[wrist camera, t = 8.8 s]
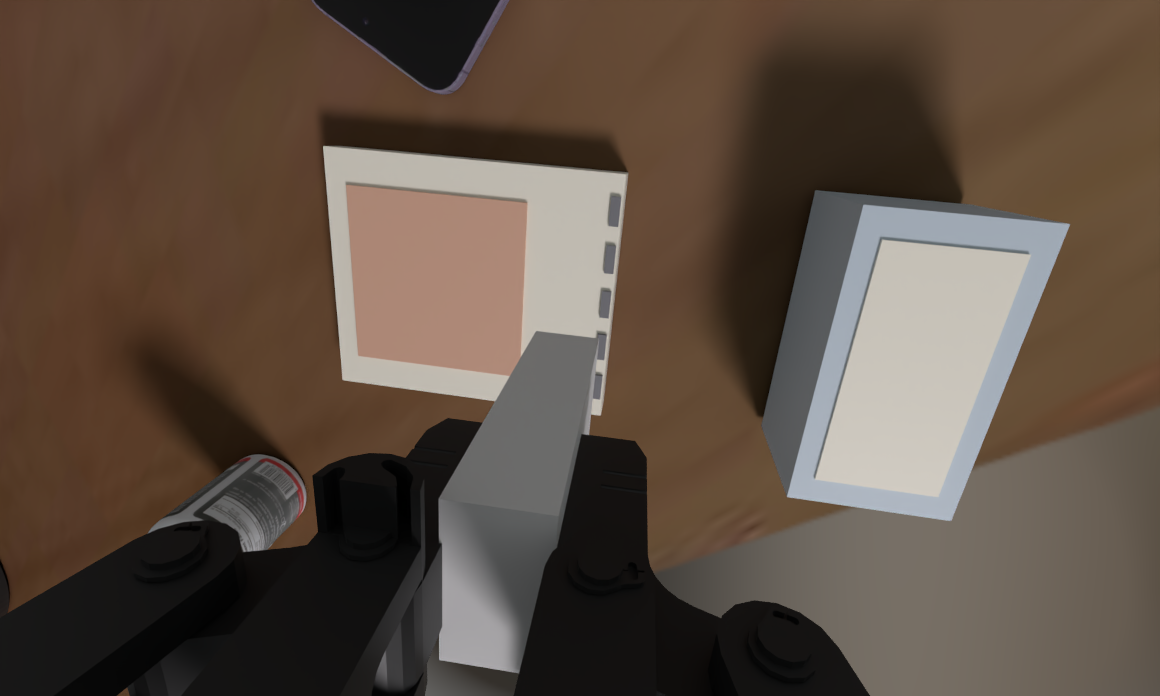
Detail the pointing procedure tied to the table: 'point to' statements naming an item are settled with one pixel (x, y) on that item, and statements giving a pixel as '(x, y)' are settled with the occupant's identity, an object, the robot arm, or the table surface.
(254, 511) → the pill bottle
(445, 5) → the smartphone
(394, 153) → the board
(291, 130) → the table surface
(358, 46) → the table surface
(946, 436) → the blue framed panel box
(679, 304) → the table surface
